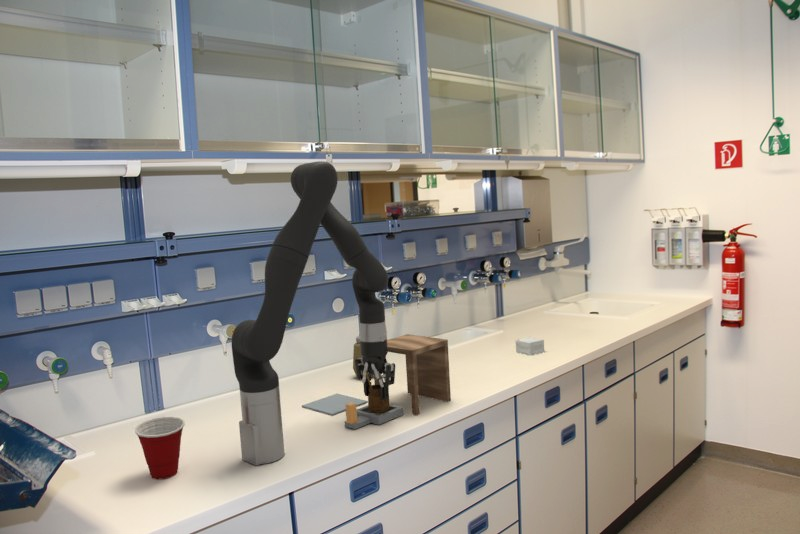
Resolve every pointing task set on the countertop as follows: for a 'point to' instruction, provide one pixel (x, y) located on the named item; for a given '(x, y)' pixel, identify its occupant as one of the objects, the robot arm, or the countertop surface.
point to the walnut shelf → (423, 367)
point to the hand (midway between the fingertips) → (376, 397)
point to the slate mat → (333, 404)
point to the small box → (529, 346)
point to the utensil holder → (376, 400)
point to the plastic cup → (161, 445)
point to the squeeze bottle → (357, 354)
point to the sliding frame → (369, 415)
